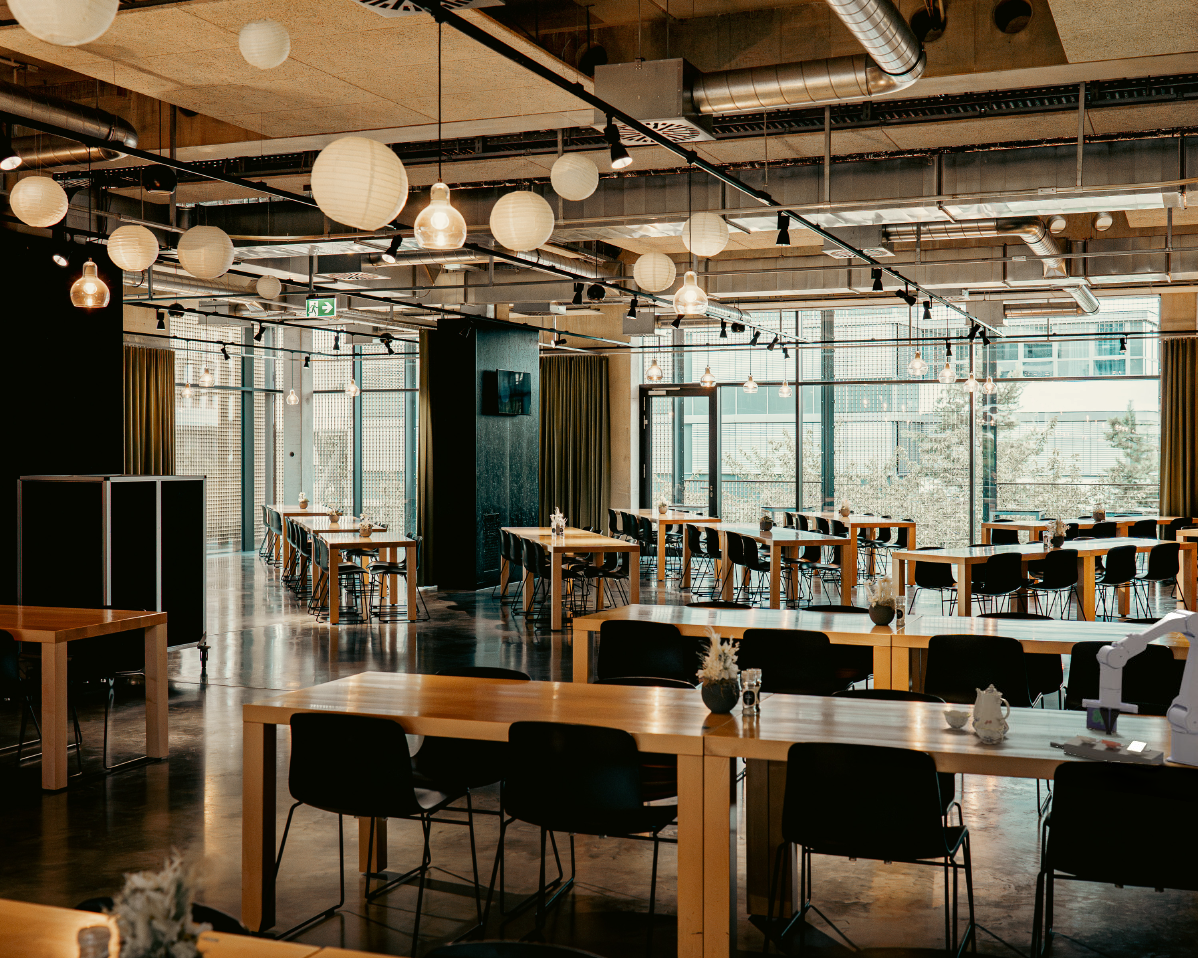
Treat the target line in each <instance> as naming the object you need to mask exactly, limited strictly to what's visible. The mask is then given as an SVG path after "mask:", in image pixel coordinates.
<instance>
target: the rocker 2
mask: <svg viewBox="0 0 1198 958" xmlns="http://www.w3.org/2000/svg"><path fill="white" fill-rule="evenodd" d="M1128 746H1129V747H1128V749H1127V753H1132V754H1137V755H1141V754H1142V753H1143V751H1144V750H1145V748H1146V749H1147V747H1148V744H1147V742H1141V741H1135V740H1133V741H1132V742H1131V744H1130V745H1128Z"/></svg>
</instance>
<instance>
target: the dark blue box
mask: <svg viewBox="0 0 1198 958" xmlns="http://www.w3.org/2000/svg"><path fill="white" fill-rule="evenodd" d="M1103 707H1104V706H1103ZM1099 711H1100V708H1093V707H1086V721H1085V722H1086V723H1085V724H1086V729H1088V728H1091V729H1090V730H1093V729H1095V731H1101V732H1106V729H1105V725H1104V721H1103V719H1102V716H1101V714H1100V712H1099ZM1117 723H1118V718H1117V719H1116V721H1115V724H1114V726H1113V729H1112V733H1114V732H1115V733H1117V731H1118V730H1117V729H1118V727H1117V726H1118V724H1117ZM1109 727H1110V709H1109Z"/></svg>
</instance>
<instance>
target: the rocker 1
mask: <svg viewBox="0 0 1198 958" xmlns="http://www.w3.org/2000/svg"><path fill="white" fill-rule="evenodd" d="M1076 737H1077V739H1081V742H1086V743H1091V742H1096V740H1097V739H1096V738H1093V737H1090V736H1085V735H1079V734H1078V735H1076Z"/></svg>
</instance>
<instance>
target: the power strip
mask: <svg viewBox="0 0 1198 958" xmlns="http://www.w3.org/2000/svg"><path fill="white" fill-rule="evenodd" d="M1050 745H1052V746H1051V747H1054V746H1058V747H1057V748H1059V747H1063V748H1062V749H1063V753H1064V752H1066V753H1071V754H1076V755H1079V756H1078V757H1081V756H1085V757H1084V758H1086V757H1087V759H1091V758H1092V760H1095V761H1096V760H1098V761H1101V760H1107V761H1120V762H1133V763H1142V764H1160V765H1161V764H1163V763H1164V759H1165V758H1164V754H1165V753H1164V751H1160V750H1155V749H1150V748H1147V747H1146V748H1145V750H1144V751H1143V753H1142V754H1141V755H1137V754H1132V753H1127V749H1128V747H1129V746H1130V745H1128V744H1124V743H1121V747H1119V746H1117V747H1116V748H1113V747H1108V746H1105V745H1106V744H1103V743H1102V739H1101V740H1100V739H1096V742H1091V743H1086V742H1081V739H1077V736H1076V737H1074V738H1072V739H1070V740H1068V741H1066V742H1063V743H1058V742H1054V741H1050V742H1049V746H1050ZM1076 755H1075V756H1076ZM1107 761H1106V762H1107Z"/></svg>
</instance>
